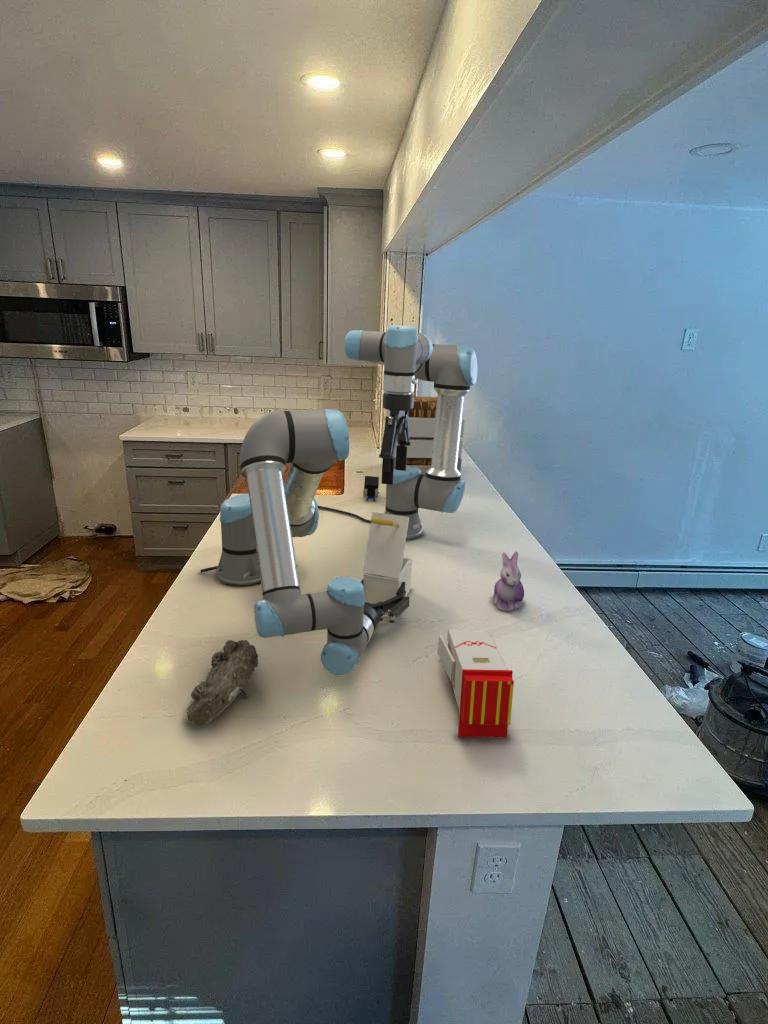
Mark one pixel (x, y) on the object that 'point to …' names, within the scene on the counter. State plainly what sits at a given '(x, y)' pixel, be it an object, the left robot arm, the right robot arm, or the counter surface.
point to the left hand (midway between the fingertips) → (384, 583)
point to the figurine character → (371, 487)
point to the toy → (478, 682)
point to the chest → (386, 584)
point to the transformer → (423, 433)
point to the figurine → (509, 585)
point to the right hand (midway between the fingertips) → (394, 476)
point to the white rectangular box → (386, 545)
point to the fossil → (223, 681)
